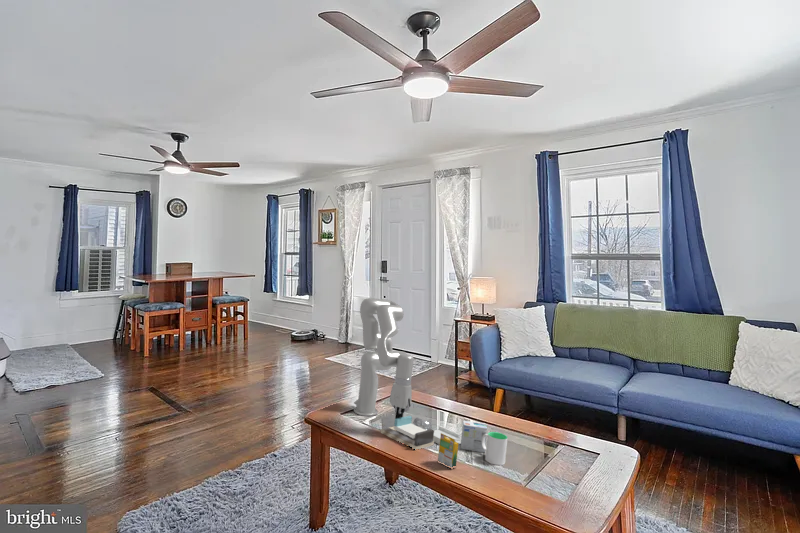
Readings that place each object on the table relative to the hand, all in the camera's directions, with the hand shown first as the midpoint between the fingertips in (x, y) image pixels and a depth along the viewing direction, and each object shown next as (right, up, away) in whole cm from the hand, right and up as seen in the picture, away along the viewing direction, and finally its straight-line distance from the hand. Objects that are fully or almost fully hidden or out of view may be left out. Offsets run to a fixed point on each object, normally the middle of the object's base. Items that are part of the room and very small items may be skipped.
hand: (398, 421), depth 183 cm
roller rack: (+20, -8, +2) cm, 21 cm away
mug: (+39, -10, -15) cm, 43 cm away
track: (+4, -6, -5) cm, 8 cm away
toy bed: (+5, -4, -6) cm, 9 cm away
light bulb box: (+33, -10, -6) cm, 35 cm away
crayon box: (+19, -7, -27) cm, 34 cm away
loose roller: (+11, -8, +10) cm, 17 cm away
